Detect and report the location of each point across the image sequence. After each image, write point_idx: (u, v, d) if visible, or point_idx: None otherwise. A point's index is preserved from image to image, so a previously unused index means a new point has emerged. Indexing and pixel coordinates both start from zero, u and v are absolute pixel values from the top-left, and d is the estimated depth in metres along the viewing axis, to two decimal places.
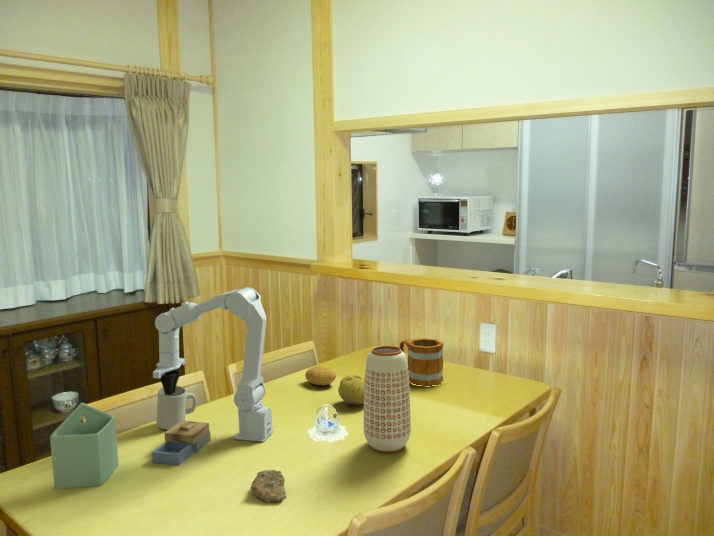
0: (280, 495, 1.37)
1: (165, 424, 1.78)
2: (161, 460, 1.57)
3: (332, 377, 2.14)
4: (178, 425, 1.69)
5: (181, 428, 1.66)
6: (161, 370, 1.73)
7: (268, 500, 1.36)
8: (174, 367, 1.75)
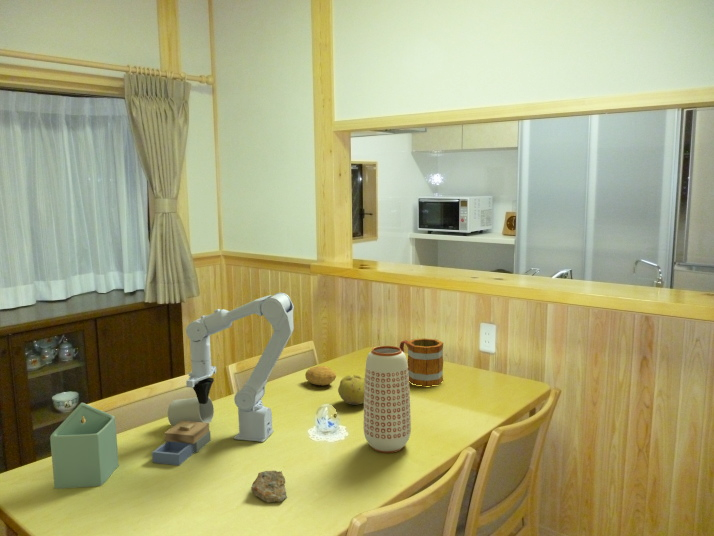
0: (281, 496, 1.36)
1: (175, 423, 1.77)
2: (161, 460, 1.57)
3: (332, 377, 2.14)
4: (178, 425, 1.69)
5: (181, 428, 1.66)
6: (194, 379, 1.70)
7: (269, 501, 1.36)
8: (207, 375, 1.72)
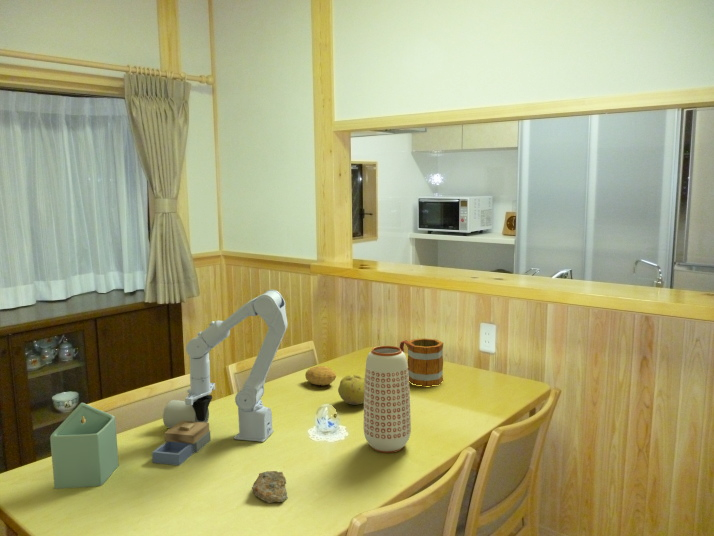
0: (281, 496, 1.36)
1: (169, 426, 1.78)
2: (161, 460, 1.57)
3: (332, 377, 2.14)
4: (178, 425, 1.69)
5: (181, 428, 1.66)
6: (193, 396, 1.69)
7: (269, 501, 1.35)
8: (206, 393, 1.72)
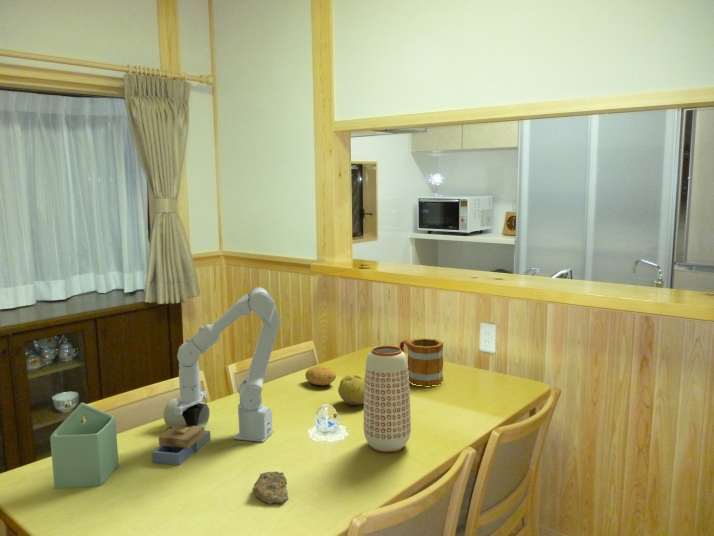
0: (282, 497, 1.36)
1: (169, 422, 1.78)
2: (161, 460, 1.57)
3: (332, 377, 2.14)
4: (173, 429, 1.66)
5: (176, 432, 1.63)
6: (182, 406, 1.64)
7: (270, 502, 1.35)
8: (196, 402, 1.67)
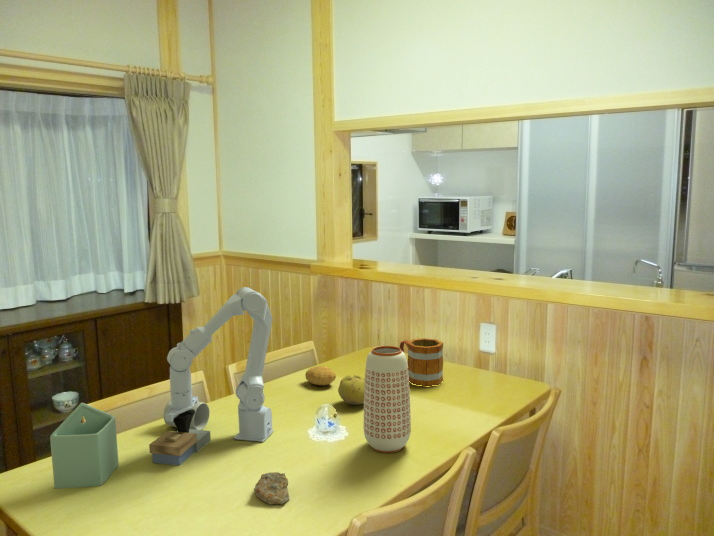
0: (283, 498, 1.35)
1: (169, 422, 1.78)
2: (161, 460, 1.57)
3: (332, 377, 2.14)
4: (164, 436, 1.61)
5: (167, 439, 1.58)
6: (173, 412, 1.59)
7: (271, 503, 1.35)
8: (187, 408, 1.62)
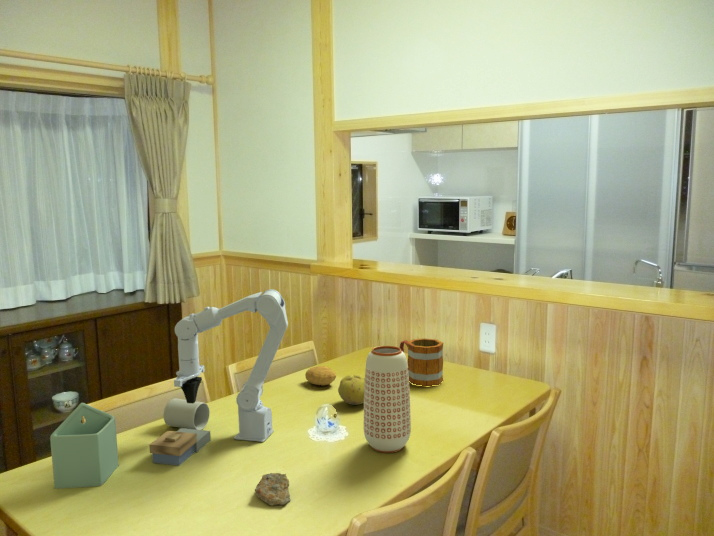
0: (284, 499, 1.35)
1: (169, 422, 1.78)
2: (161, 460, 1.57)
3: (332, 377, 2.14)
4: (164, 436, 1.61)
5: (167, 439, 1.58)
6: (182, 378, 1.67)
7: (272, 504, 1.34)
8: (195, 374, 1.70)
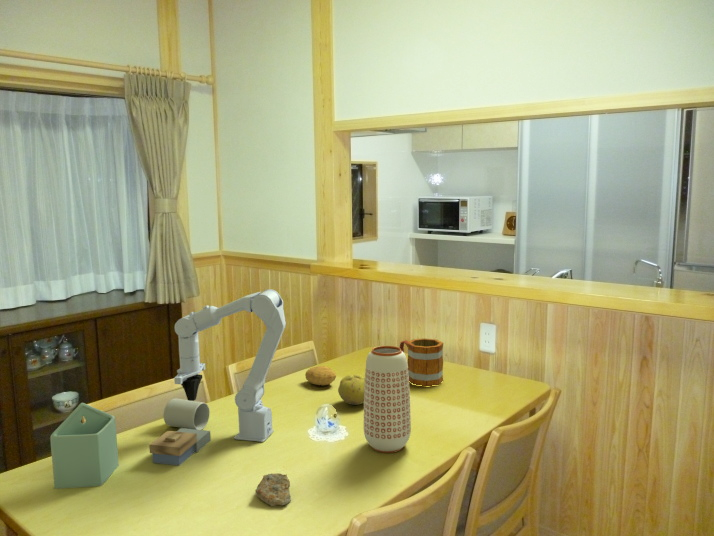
0: (284, 499, 1.35)
1: (169, 422, 1.78)
2: (161, 460, 1.57)
3: (332, 377, 2.14)
4: (164, 436, 1.61)
5: (167, 439, 1.58)
6: (182, 376, 1.69)
7: (272, 504, 1.34)
8: (195, 372, 1.72)
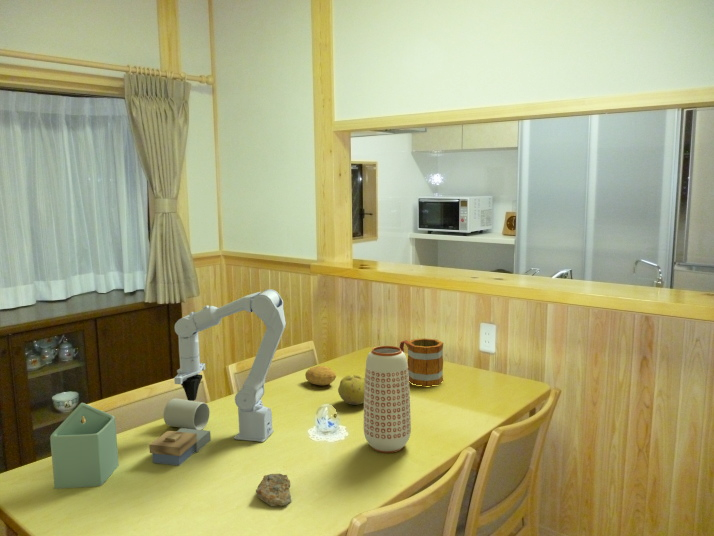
0: (285, 500, 1.34)
1: (169, 422, 1.78)
2: (161, 460, 1.57)
3: (332, 377, 2.14)
4: (164, 436, 1.61)
5: (167, 439, 1.58)
6: (182, 376, 1.69)
7: (272, 504, 1.34)
8: (195, 372, 1.72)
